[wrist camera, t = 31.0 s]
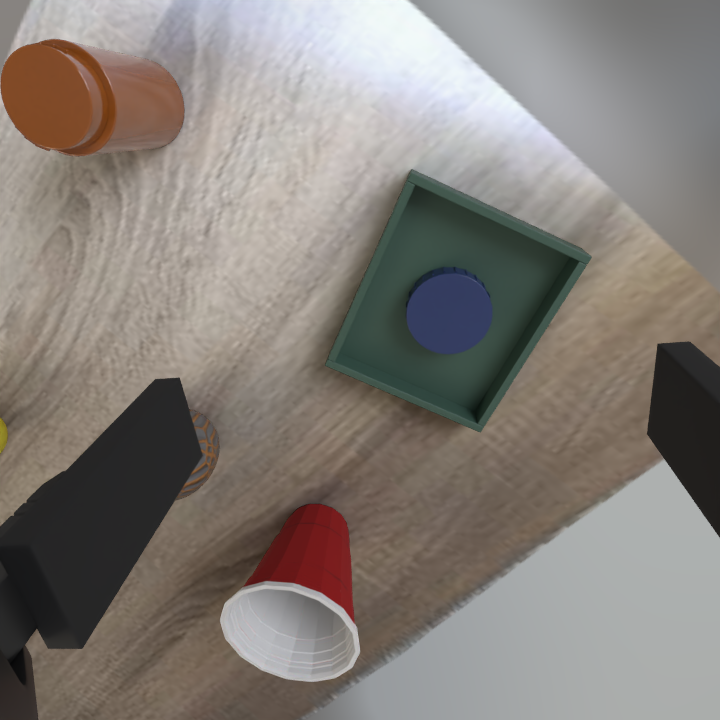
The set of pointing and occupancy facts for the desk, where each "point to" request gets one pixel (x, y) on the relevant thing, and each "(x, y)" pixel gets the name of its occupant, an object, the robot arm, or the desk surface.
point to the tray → (481, 258)
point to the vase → (210, 454)
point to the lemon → (3, 435)
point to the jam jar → (90, 99)
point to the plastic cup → (298, 601)
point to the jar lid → (448, 310)
